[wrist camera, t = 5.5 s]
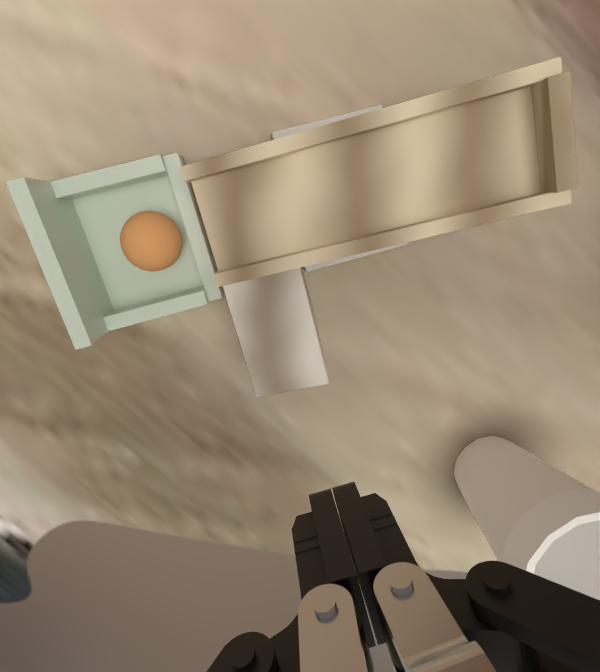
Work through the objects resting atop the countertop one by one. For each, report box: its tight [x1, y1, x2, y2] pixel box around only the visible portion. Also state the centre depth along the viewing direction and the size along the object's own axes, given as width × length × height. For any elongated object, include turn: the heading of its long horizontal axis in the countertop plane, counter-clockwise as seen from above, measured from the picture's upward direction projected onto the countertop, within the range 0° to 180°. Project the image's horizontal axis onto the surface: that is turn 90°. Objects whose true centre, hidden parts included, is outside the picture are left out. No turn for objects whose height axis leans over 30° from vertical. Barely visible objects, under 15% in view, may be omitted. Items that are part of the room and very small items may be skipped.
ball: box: [120, 211, 182, 271], centre depth 30 cm, size 4×4×4 cm
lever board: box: [180, 57, 578, 397], centre depth 27 cm, size 20×15×5 cm
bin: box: [6, 153, 224, 350], centre depth 30 cm, size 9×10×7 cm
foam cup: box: [454, 436, 600, 600], centre depth 35 cm, size 10×9×13 cm
